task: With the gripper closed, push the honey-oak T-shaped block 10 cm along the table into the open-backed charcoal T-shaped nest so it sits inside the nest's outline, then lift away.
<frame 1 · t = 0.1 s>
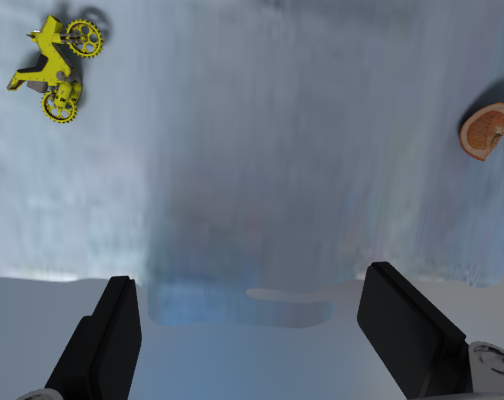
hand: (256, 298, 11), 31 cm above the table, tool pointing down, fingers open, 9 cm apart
fruit slice: (471, 129, 45), on the table
toy motorcycle: (65, 67, 34), on the table
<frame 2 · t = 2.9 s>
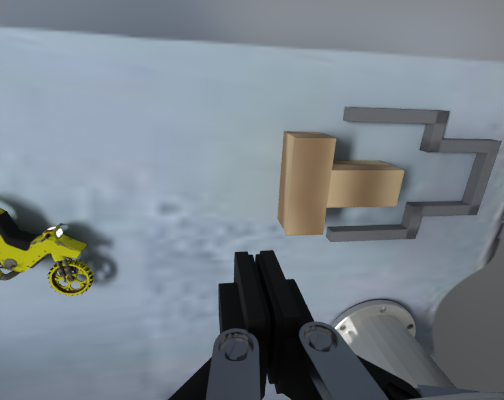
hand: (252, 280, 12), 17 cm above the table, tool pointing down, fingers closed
oak t block: (329, 177, 30), on the table
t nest: (417, 176, 31), on the table
toy motorcycle: (38, 240, 28), on the table
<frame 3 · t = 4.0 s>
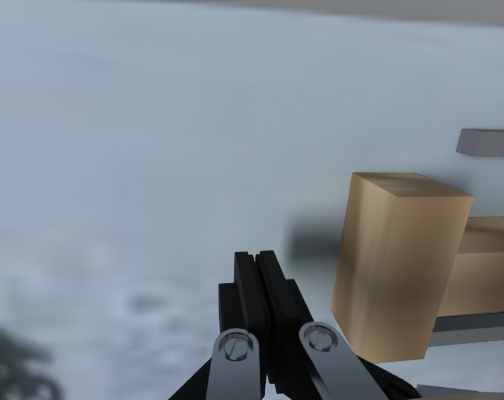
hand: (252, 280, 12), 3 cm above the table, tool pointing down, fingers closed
oak t block: (421, 244, 17), on the table
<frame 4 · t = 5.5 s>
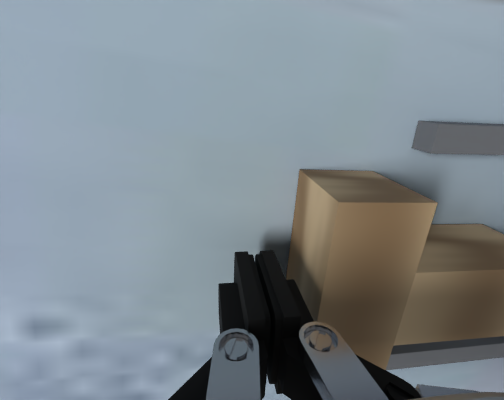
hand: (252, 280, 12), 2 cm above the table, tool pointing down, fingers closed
oak t block: (385, 255, 15), on the table, touching gripper
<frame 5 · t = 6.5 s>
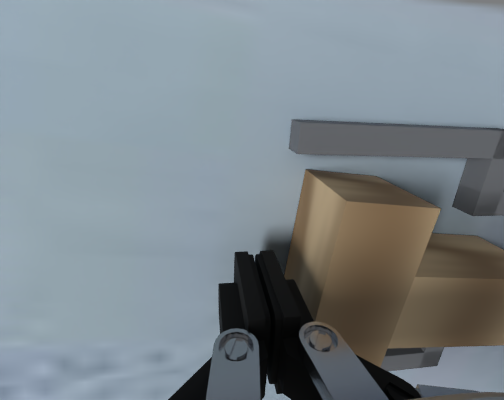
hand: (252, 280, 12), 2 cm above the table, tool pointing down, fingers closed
oak t block: (382, 260, 15), on the table, touching gripper
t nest: (445, 255, 16), on the table
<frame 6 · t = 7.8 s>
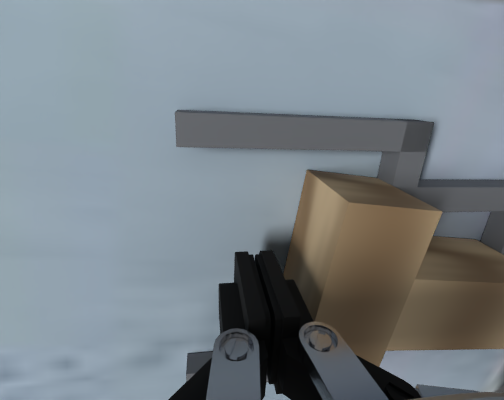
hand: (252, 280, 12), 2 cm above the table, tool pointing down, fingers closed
oak t block: (381, 262, 15), on the table, touching gripper, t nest
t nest: (370, 255, 15), on the table
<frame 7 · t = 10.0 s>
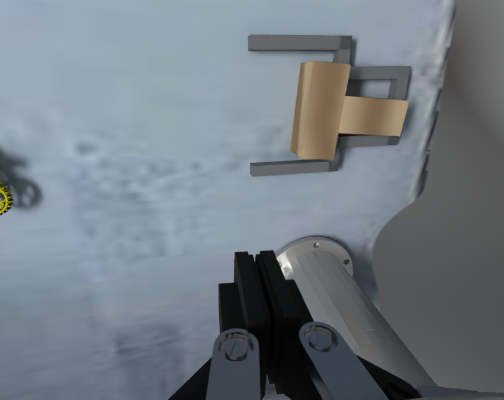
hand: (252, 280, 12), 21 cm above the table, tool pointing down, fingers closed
oak t block: (339, 111, 32), on the table
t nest: (333, 108, 32), on the table
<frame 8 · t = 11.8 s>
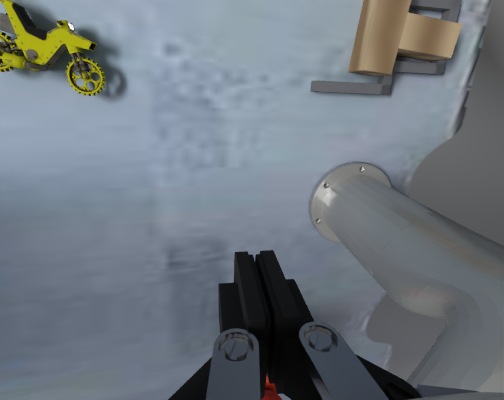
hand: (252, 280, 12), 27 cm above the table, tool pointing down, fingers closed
oak t block: (395, 39, 36), on the table
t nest: (390, 34, 35), on the table
toy motorcycle: (54, 50, 31), on the table
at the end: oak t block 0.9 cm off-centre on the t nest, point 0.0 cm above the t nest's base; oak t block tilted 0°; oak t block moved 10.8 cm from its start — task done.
